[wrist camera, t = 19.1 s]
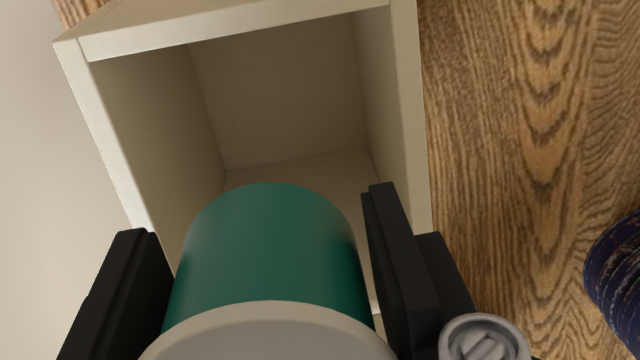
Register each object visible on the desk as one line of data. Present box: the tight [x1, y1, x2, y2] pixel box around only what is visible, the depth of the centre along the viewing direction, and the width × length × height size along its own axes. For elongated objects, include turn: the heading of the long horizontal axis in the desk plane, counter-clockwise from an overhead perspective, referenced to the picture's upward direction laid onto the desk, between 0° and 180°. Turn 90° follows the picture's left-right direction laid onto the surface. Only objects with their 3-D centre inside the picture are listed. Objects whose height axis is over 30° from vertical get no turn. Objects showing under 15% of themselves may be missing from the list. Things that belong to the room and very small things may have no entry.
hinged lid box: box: [52, 0, 433, 314], centre depth 21 cm, size 11×9×13 cm
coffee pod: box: [138, 182, 398, 360], centre depth 10 cm, size 5×5×4 cm
